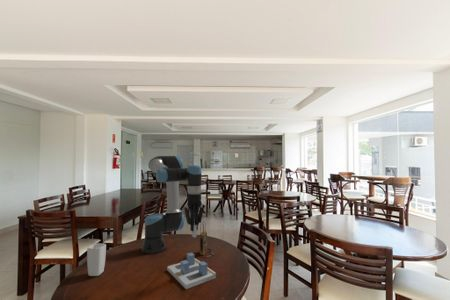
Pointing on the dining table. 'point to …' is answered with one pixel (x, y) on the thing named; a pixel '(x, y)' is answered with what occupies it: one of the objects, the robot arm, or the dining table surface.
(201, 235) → the multimeter
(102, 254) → the cup
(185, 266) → the tab
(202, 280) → the switch bank
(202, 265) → the tab
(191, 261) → the tab
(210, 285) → the dining table surface
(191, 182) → the robot arm
